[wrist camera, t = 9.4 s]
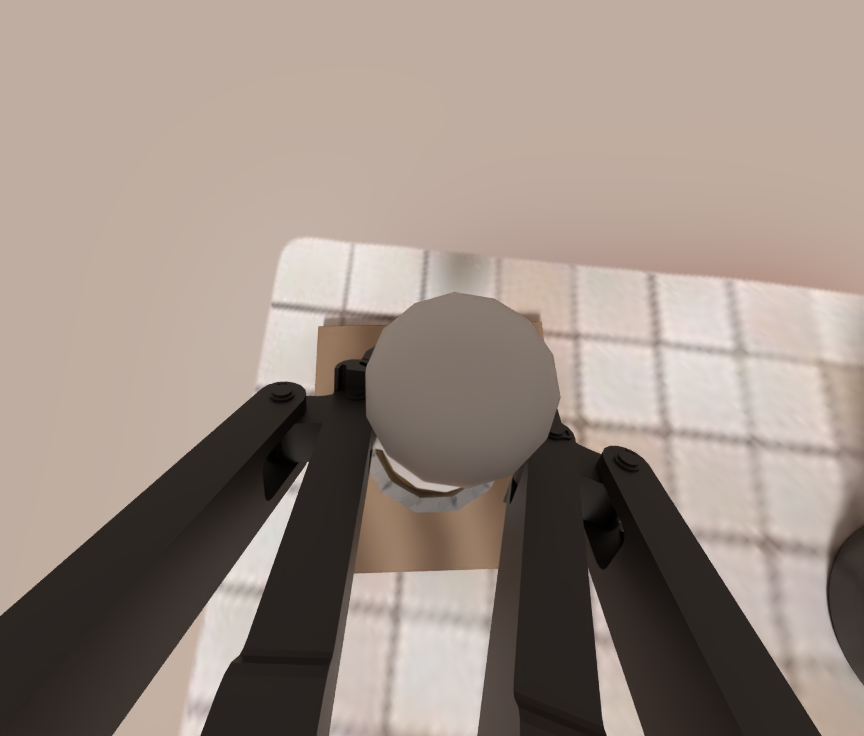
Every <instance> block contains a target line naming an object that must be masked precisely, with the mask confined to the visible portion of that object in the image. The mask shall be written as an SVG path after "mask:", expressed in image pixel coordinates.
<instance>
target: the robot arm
mask: <svg viewBox="0 0 864 736" xmlns="http://www.w3.org/2000/svg"><path fill="white" fill-rule="evenodd" d="M374 348H375V346H374V347H372V348H371V349H369V350H367V351H366V352H365V354H364V356H363V357H362V359H350V360H345V361H342V362H340V363H338V364H337V365H336V367H335V368H334V392H333V394H330V395H325V396H306V391H305V389H304V388H303V387H302V386H301V385H298V384H296V383H292V382H276V383H272V384H269V385H267V386H265V387H264V388H262V389H261V390H259V391H258V392H257V393H256V394H255V395H254V396H253V397H251V398H250V399H249V400H248V401H247V402H246V403H245V404H243V405H242V406H241V407H240V408H239V409H238V410H237V411H235V412H234V413H233V414H232V415H231V416H230V417H228V418H227V419H226V420H225V421H224V422H223V423H222V424H220V425H219V426H218V427H217V428H216V429H215V430H214V431H213V432H211V433H210V434H209V435H208V436H207V437H205V438H204V439H203V440H202V441H201V442H200V443H199V444H197V446H195V447H194V448H193V449H192V450H191V451H189V452H188V453H187V454H186V455H185V456H184V457H183V458H181V459H180V460H179V461H178V462H177V463H176V464H175V465H173V466H172V467H171V468H170V469H169V470H168V471H166V472H165V473H164V474H163V475H162V476H161V477H160V478H159V479H157V480H156V481H155V482H154V483H153V484H152V485H150V486H149V487H148V488H147V489H146V490H145V491H144V492H142V493H141V494H140V495H139V496H138V497H137V498H135V499H134V500H133V501H132V502H131V503H130V504H129V505H127V506H126V507H125V508H124V509H123V510H122V511H120V512H119V513H118V514H117V515H116V516H115V517H114V518H112V519H111V520H110V521H109V522H108V523H107V524H106V525H104V526H103V527H102V528H101V529H100V530H99V531H98V532H96V533H95V534H94V535H93V536H92V537H91V538H89V539H88V540H87V541H86V542H85V543H84V544H83V545H81V546H80V547H79V548H78V549H77V550H76V551H75V552H73V553H72V554H71V555H70V556H69V557H68V558H67V559H65V560H64V561H63V562H62V563H61V564H60V565H58V566H57V567H56V568H55V569H54V570H53V571H52V572H51V573H49V574H48V575H47V576H46V577H45V578H44V579H42V580H41V581H40V582H39V583H38V584H37V585H35V586H34V587H33V588H32V589H31V590H30V591H29V592H27V593H26V594H25V595H24V596H23V597H22V598H21V599H20V600H18V601H17V602H16V603H15V604H14V605H13V606H11V607H10V608H9V609H8V610H7V611H6V612H4V613H3V614H2V615H1V616H0V736H112V735H113V734H114V732H115V731H116V729H117V728H118V727H119V725H120V724H121V722H122V721H123V720H124V718H125V717H126V715H127V714H128V713H129V711H130V710H131V708H132V707H133V706H134V704H135V703H136V701H137V700H138V699H139V697H140V696H141V694H142V693H143V692H144V690H145V689H146V688H147V686H148V685H149V683H150V682H151V681H152V679H153V677H154V676H155V675H156V674H157V672H158V671H159V669H160V668H161V667H162V665H163V664H164V662H165V661H166V660H167V658H168V657H169V655H170V654H171V653H172V651H173V650H174V648H175V647H176V646H177V644H178V643H179V641H180V640H181V639H182V637H183V636H184V634H185V633H186V632H187V630H188V629H189V627H190V626H191V625H192V623H193V622H194V620H195V619H196V618H197V616H198V615H199V613H200V612H201V611H202V609H203V608H204V606H205V605H206V604H207V602H208V601H209V600H210V598H211V597H212V595H213V594H214V593H215V591H216V590H217V588H218V587H219V586H220V584H221V583H222V581H223V580H224V579H225V577H226V576H227V574H228V573H229V572H230V570H231V569H232V567H233V566H234V565H235V563H236V562H237V560H238V559H239V558H240V556H241V555H242V553H243V552H244V551H245V549H246V548H247V546H248V545H249V544H250V542H251V541H252V539H253V538H254V537H255V535H256V534H257V532H258V531H259V530H260V528H261V527H262V525H263V524H264V523H265V521H266V520H267V518H268V517H269V516H270V514H271V513H272V512H273V510H274V509H275V507H276V506H277V505H278V503H279V502H280V500H281V499H282V498H283V496H284V495H285V493H286V492H287V491H288V489H289V488H290V486H291V485H292V484H293V482H294V481H295V479H296V478H297V477H298V475H299V474H300V472H301V471H302V470H303V468H304V467H305V465H306V463H307V462H309V464H308V467H307V469H306V472H305V475H304V478H303V481H302V484H301V487H300V489H299V492H298V495H297V498H296V501H295V504H294V507H293V509H292V512H291V515H290V518H289V521H288V524H287V526H286V529H285V532H284V535H283V538H282V541H281V544H280V546H279V549H278V552H277V555H276V558H275V561H274V564H273V566H272V569H271V572H270V575H269V578H268V581H267V584H266V586H265V589H264V592H263V595H262V598H261V601H260V604H259V606H258V609H257V612H256V615H255V618H254V621H253V624H252V626H251V629H250V632H249V635H248V638H247V640H246V643H245V645H244V648H243V650H242V652H241V653H240V655H239V656H238V657H237V658H236V659H235V660H233V661H232V662H231V664H230V665H229V667H228V669H227V671H226V672H225V674H224V676H223V678H222V681H221V683H220V686H219V688H218V690H217V693H216V695H215V698H214V701H213V703H212V706H211V709H210V711H209V714H208V717H207V720H206V722H205V725H204V728H203V730H202V733H201V736H329V731H330V723H331V716H332V710H333V703H334V697H335V690H336V684H337V677H338V671H339V665H340V658H341V652H342V646H343V639H344V633H345V626H346V620H347V614H348V607H349V601H350V594H351V588H352V582H353V575H354V569H355V562H356V556H357V550H358V543H359V537H360V530H361V524H362V518H363V511H364V505H365V498H366V492H367V486H368V479H369V473H370V466H371V460H372V451H373V446H374V443H375V440H376V444H375V449H380V450H384V448H383V446H382V444H381V443H380V441H379V439H378V437H377V435H376V433H375V432H374V430H373V428H372V426H371V424H370V422H369V421H368V419H367V417H366V367H367V364H368V362H369V360H370V358H371V355H372V353H373V351H374ZM503 502H504V503H506V502H507V504H506V512H505V520H504V528H503V536H502V544H501V552H500V560H499V568H498V576H497V584H496V592H495V600H494V608H493V615H492V623H491V631H490V639H489V647H488V655H487V663H486V671H485V679H484V687H483V695H482V703H481V711H480V719H479V727H478V735H477V736H607V735H606V732H605V730H604V726H603V720H602V712H601V702H600V691H599V681H598V670H597V660H596V649H595V639H594V629H593V618H592V608H591V597H590V587H589V576H588V569H589V572H590V575H591V578H592V580H593V583H594V586H595V589H596V592H597V595H598V598H599V601H600V604H601V607H602V610H603V613H604V616H605V619H606V622H607V625H608V628H609V631H610V634H611V637H612V640H613V643H614V646H615V649H616V652H617V655H618V658H619V661H620V664H621V666H622V669H623V672H624V675H625V678H626V681H627V684H628V687H629V690H630V693H631V696H632V699H633V702H634V705H635V708H636V711H637V714H638V717H639V720H640V723H641V726H642V729H643V732H644V735H645V736H821V734H820V733H819V731H818V729H817V728H816V726H815V725H814V723H813V722H812V720H811V718H810V717H809V715H808V714H807V712H806V711H805V709H804V707H803V706H802V704H801V703H800V701H799V700H798V698H797V696H796V695H795V693H794V692H793V690H792V689H791V687H790V685H789V684H788V682H787V681H786V679H785V678H784V676H783V674H782V673H781V671H780V670H779V668H778V667H777V665H776V663H775V662H774V660H773V659H772V657H771V656H770V654H769V653H768V651H767V649H766V648H765V646H764V645H763V643H762V642H761V640H760V638H759V637H758V635H757V634H756V632H755V631H754V629H753V627H752V626H751V624H750V623H749V621H748V620H747V618H746V616H745V615H744V613H743V612H742V610H741V609H740V607H739V605H738V604H737V602H736V601H735V599H734V598H733V596H732V594H731V593H730V591H729V590H728V588H727V587H726V585H725V583H724V582H723V580H722V579H721V577H720V576H719V574H718V572H717V571H716V569H715V568H714V566H713V565H712V563H711V561H710V560H709V558H708V557H707V555H706V554H705V552H704V550H703V549H702V547H701V546H700V544H699V543H698V541H697V539H696V538H695V536H694V535H693V533H692V532H691V530H690V528H689V527H688V525H687V524H686V522H685V521H684V519H683V518H682V516H681V514H680V513H679V511H678V510H677V508H676V507H675V505H674V503H673V502H672V500H671V499H670V497H669V496H668V494H667V492H666V491H665V489H664V488H663V486H662V485H661V483H660V481H659V480H658V478H657V477H656V475H655V474H654V472H653V470H652V469H651V467H650V466H649V464H648V463H647V462H646V461H645V460H644V459H643V458H642V457H641V456H639V455H638V454H637V453H635V452H633V451H632V450H629V449H627V448H624V447H620V446H608V447H606V448H604V450H603V452H602V454H599V453H597V452H594V451H592V450H590V449H587V448H585V447H583V446H581V445H579V444H577V443H576V441H575V437H574V434H573V432H572V431H571V430H570V429H569V428H568V427H567V426H565V425H564V424H562V423H561V420H560V416H559V413H558V409H557V410H556V413H555V416H554V419H553V422H552V425H551V428H550V432H549V435H548V438H547V439H546V440H545V442H544V443H543V444H542V445H541V446H540V447H539V448H538V449H537V450H536V451H535V452H534V453H533V454H532V455H531V456H530V457H529V458H528V459H527V460H526V461H525V462H524V463H523V464H522V466H521V467H520V468H519V469H518V470H517V471H516V472H515V473H514V474H513V476H512V478H511V481H510V484H509V486H508V489H507V492H506V495H505V497H504V500H503ZM829 601H830V610H831V617H832V621H833V625H834V629H835V632H836V635H837V638H838V641H839V644H840V646H841V648H842V651H843V653H844V655H845V657H846V659H847V661H848V662H849V664H850V666H851V668H852V669H853V671H854V672H855V674H856V675H857V677H858V678H859V680H860V681H861V682H862V684H863V685H864V527H862V528H860V529H859V530H858V531H856V532H855V533H854V534H853V535H852V536H851V537H850V538H849V539H848V540H847V541H846V542H845V544H844V545H843V546H842V548H841V550H840V551H839V553H838V555H837V557H836V560H835V562H834V565H833V569H832V573H831V578H830V588H829Z"/></svg>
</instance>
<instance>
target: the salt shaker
mask: <svg viewBox="0 0 864 736" xmlns="http://www.w3.org/2000/svg"><path fill="white" fill-rule="evenodd" d="M559 401H560V391H559V386H558V380H557V374H556V368H555V363H554V357H553V354H552V353H551V351H550V350H549V348H548V347H547V345H546V344H545V342H544V341H543V339H542V338H541V336H540V335H539V333H538V332H537V330H536V329H535V327H534V326H533V324H532V323H531V321H530V320H529V319H527V318H525V317H524V316H522V315H520V314H519V313H517V312H515V311H514V310H512V309H511V308H509V307H507V306H506V305H504V304H502V303H501V302H499V301H497V300H496V299H493V298H487V297H481V296H474V295H468V294H462V293H456V292H453V293H450V294H446V295H443V296H439V297H436V298H432V299H429V300H425V301H422V302H418V303H415V304H413V305H412V306H411V307H410V308H409V309H407V310H406V311H405V312H404V313H402V314H401V315H400V316H399V317H397V318H396V319H395V320H394V321H393V322H391V323H390V324H389V325H388V326H386V327H385V328H384V329H383V330H382V333H381V335H380V337H379V339H378V342H377V344H376V346H375V348H374V351H373V353H372V355H371V358H370V360H369V362H368V364H367V367H366V417H367V419H368V421H369V422H370V424H371V426H372V428H373V430H374V432H375V433H376V435H377V437H378V439H379V441H380V443H381V444H382V446H383V448H384V450H383V452H384V454H385V455H386V457H387V459H388V461H389V463H390V465H391V466H392V468H393V470H394V471H395V472H396V473H398V474H399V475H400V476H402V477H403V478H404V479H406V480H407V481H408V482H410V483H411V484H413V485H414V486H415V487H417V488H422V489H428V490H435V491H441V492H448V491H451V490H454V489H458V488H461V487H462V488H472V487H476V486H479V485H482V484H485V483H488V482H492V481H495V480H498V479H501V478H504V477H508V476H511V475H513V474H514V473H515V472H516V471H517V470H518V469H519V468H520V467H521V466H522V464H523V463H524V462H525V461H526V460H527V459H528V458H529V457H530V456H531V455H532V454H533V453H534V452H535V451H536V450H537V449H538V448H539V447H540V446H541V445H542V444H543V443H544V442H545V440H546V439H547V438H548V435H549V432H550V428H551V425H552V422H553V419H554V416H555V413H556V410H557V407H558V404H559Z"/></svg>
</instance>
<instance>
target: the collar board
mask: <svg viewBox="0 0 864 736" xmlns="http://www.w3.org/2000/svg"><path fill="white" fill-rule="evenodd" d="M531 323H532V324H533V326H534V327H535V329H536V330H537V332H538V333H539V335H540V336H541V338H542V339H543V330H542V322H531ZM386 326H388V325H367V326H318V343H317V363H316V382H315V396H325V395H330V394H333V392H334V368H335V367H336V365H337V364H338V363H340V362H342V361H345V360H350V359H362V357H363V356H364V354H365V352H366V351H367V350H369V349H371V348H372V347H374V346H376V344H377V342H378V339H379V337H380V335H381V333H382V330H383V329H384V328H385V327H386ZM543 341H544V339H543ZM375 444H376V440H375V443H374V446H373V451H372V460H371V466H370V473H369V479H368V486H367V492H366V498H365V505H364V511H363V518H362V524H361V530H360V537H359V543H358V550H357V556H356V562H355V569H354V573H382V572H411V571H441V570H471V569H498V568H499V560H500V552H501V544H502V536H503V528H504V520H505V512H506V504H507V502H506V503H504V502H503V500H504V497H505V495H506V492H507V489H508V486H509V484H510V481H511V478H512V476H513V475H511V476H508V477H504V478H501V479H498V480H495V481H492V482H488V483H485V484H482V485H479V486H476V487H472V488H462V487H461V488H458V489H454V490H451V491H448V492H441V491H435V490H428V489H422V488H417V487H415V486H414V485H413V484H411V483H410V482H408V481H407V480H406V479H404V478H403V477H402V476H400V475H399V474H398V473H396V472H395V471H394V470H393V468H392V466H391V465H390V463H389V461H388V459H387V457H386V455H385V454H384V452H383V450H380V449H375Z"/></svg>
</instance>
